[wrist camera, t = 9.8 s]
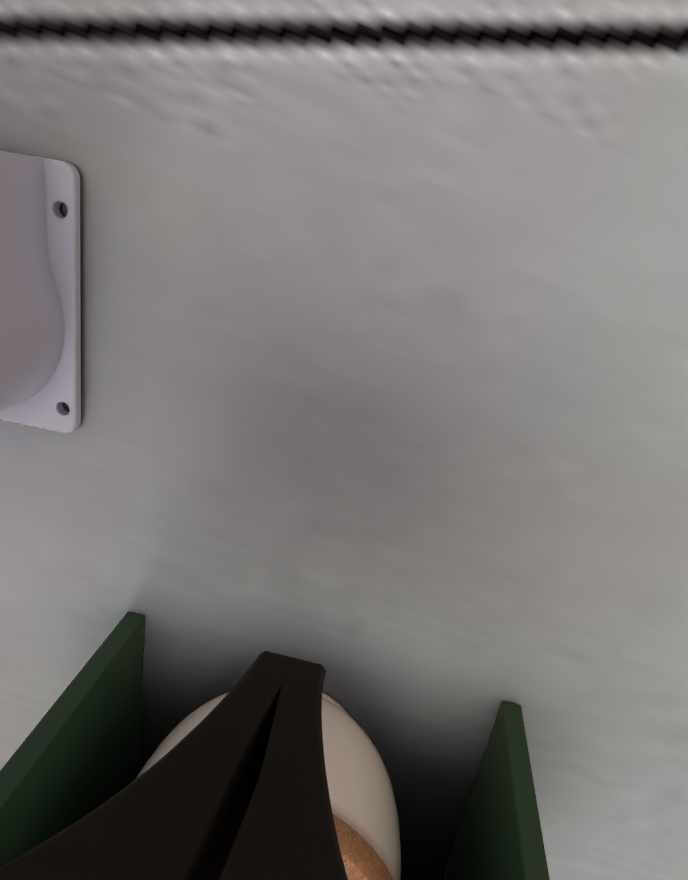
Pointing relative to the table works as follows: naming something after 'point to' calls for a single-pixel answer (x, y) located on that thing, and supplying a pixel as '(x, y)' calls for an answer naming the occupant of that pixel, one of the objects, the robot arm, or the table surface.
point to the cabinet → (116, 766)
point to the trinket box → (340, 791)
